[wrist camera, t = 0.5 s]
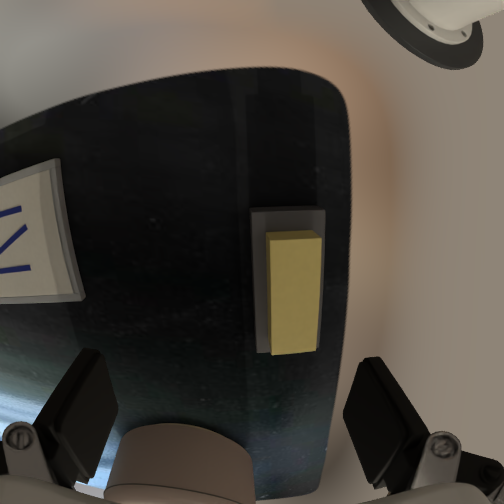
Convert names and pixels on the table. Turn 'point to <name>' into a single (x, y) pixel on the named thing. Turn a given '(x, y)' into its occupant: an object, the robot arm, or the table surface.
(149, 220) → the table surface
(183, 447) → the container
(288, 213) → the eraser
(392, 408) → the robot arm
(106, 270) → the table surface
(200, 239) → the table surface
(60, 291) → the whiteboard
